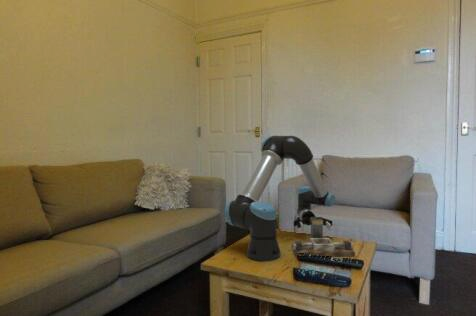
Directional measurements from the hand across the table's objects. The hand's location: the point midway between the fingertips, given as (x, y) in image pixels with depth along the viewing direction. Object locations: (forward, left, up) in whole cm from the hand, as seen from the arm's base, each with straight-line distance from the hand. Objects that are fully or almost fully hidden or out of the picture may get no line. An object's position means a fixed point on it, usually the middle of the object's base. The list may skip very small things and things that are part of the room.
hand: (316, 227), depth 169 cm
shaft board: (-1, -14, -7) cm, 16 cm away
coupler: (-1, -3, -7) cm, 8 cm away
